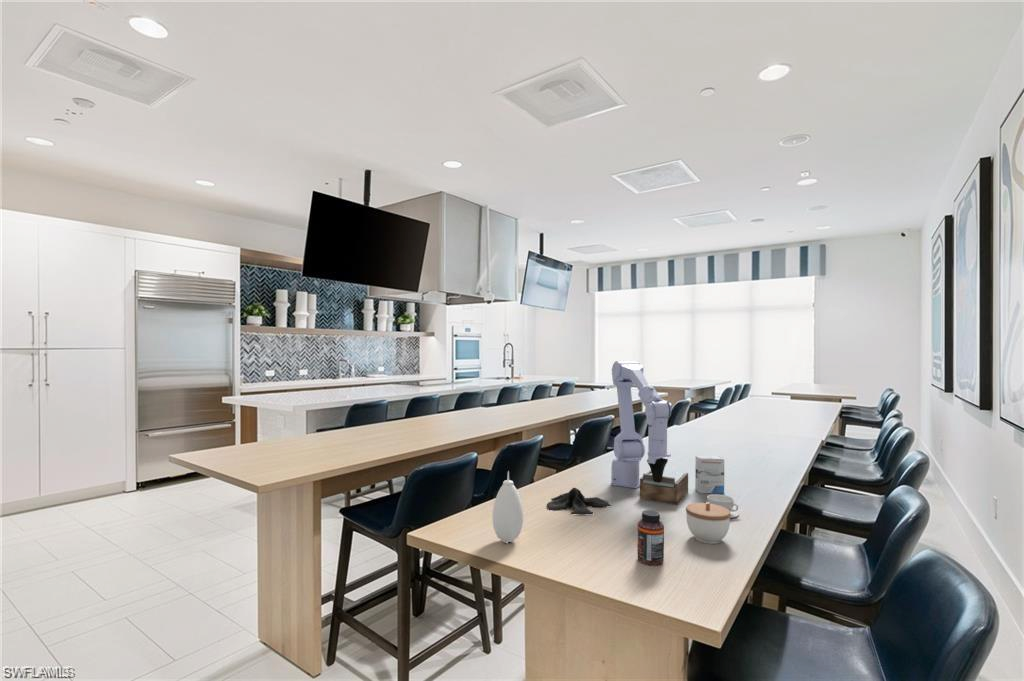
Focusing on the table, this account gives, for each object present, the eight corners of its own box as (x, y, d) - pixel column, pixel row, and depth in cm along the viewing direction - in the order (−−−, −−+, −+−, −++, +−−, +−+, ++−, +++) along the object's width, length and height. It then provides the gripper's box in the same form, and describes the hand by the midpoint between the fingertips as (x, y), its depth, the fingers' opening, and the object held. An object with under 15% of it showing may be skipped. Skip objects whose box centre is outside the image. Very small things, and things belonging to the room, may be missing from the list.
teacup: (697, 513, 151) (697, 498, 151) (710, 506, 158) (710, 491, 158) (731, 522, 144) (732, 505, 144) (743, 513, 152) (743, 497, 152)
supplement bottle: (633, 555, 120) (634, 508, 120) (658, 555, 121) (658, 507, 121) (642, 567, 114) (642, 517, 114) (667, 566, 115) (668, 516, 115)
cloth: (616, 503, 161) (616, 484, 161) (596, 521, 145) (596, 500, 145) (552, 493, 172) (552, 475, 172) (527, 508, 155) (527, 488, 155)
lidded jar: (731, 550, 124) (731, 512, 124) (685, 543, 128) (685, 506, 128) (728, 534, 134) (729, 499, 134) (686, 529, 138) (686, 494, 138)
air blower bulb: (493, 535, 132) (493, 466, 132) (523, 536, 132) (523, 467, 132) (491, 547, 124) (491, 474, 124) (522, 548, 124) (523, 475, 124)
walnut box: (639, 498, 164) (639, 478, 164) (652, 486, 178) (652, 468, 178) (677, 505, 158) (677, 484, 158) (688, 492, 172) (688, 473, 172)
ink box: (720, 489, 175) (720, 455, 175) (724, 494, 170) (724, 459, 170) (694, 488, 176) (694, 455, 176) (698, 493, 171) (698, 458, 171)
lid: (642, 482, 164) (643, 474, 164) (655, 472, 177) (655, 464, 177) (673, 487, 159) (673, 478, 159) (684, 476, 172) (684, 468, 172)
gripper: (664, 444, 152) (664, 489, 152) (675, 436, 165) (675, 478, 165) (641, 441, 156) (641, 485, 156) (654, 434, 168) (653, 475, 168)
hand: (657, 481), depth 160 cm, fingers closed
